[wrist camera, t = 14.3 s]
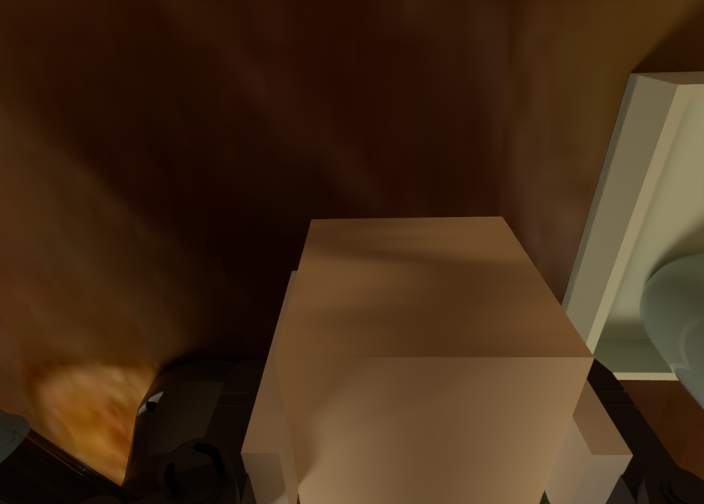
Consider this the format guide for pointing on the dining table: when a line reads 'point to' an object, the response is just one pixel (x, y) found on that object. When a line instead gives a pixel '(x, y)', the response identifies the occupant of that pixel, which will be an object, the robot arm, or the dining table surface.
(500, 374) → the beech block
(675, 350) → the cup
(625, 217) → the tray
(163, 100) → the dining table surface
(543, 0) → the dining table surface
